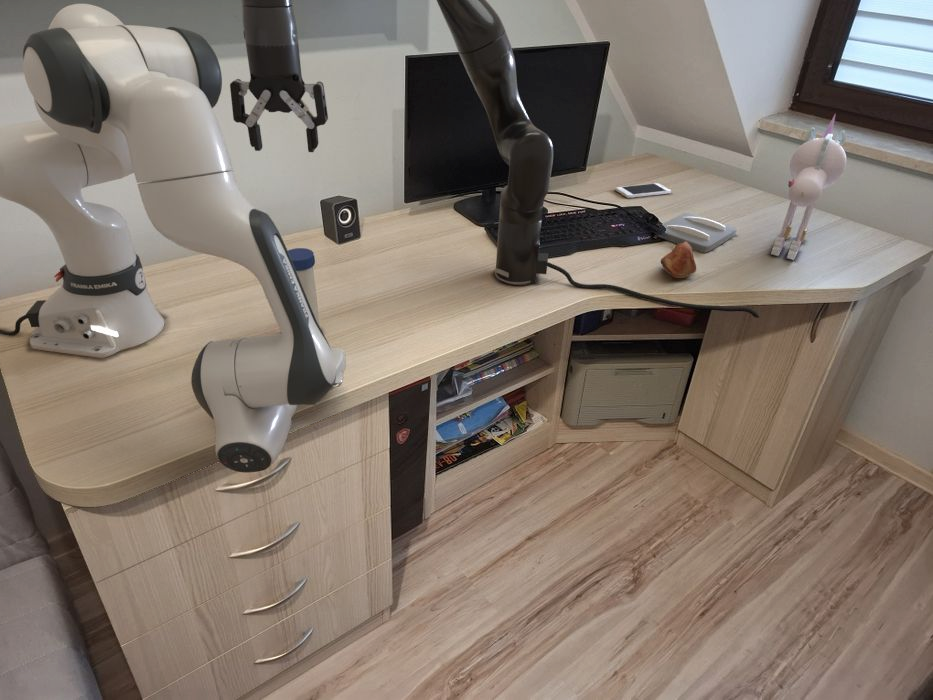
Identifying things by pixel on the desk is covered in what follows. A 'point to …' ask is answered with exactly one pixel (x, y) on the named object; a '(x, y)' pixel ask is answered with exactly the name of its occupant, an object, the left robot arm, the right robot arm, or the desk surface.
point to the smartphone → (642, 190)
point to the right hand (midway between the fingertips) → (285, 150)
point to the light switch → (697, 232)
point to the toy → (811, 180)
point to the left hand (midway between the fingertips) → (291, 339)
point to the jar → (309, 289)
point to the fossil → (680, 261)
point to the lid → (302, 258)
